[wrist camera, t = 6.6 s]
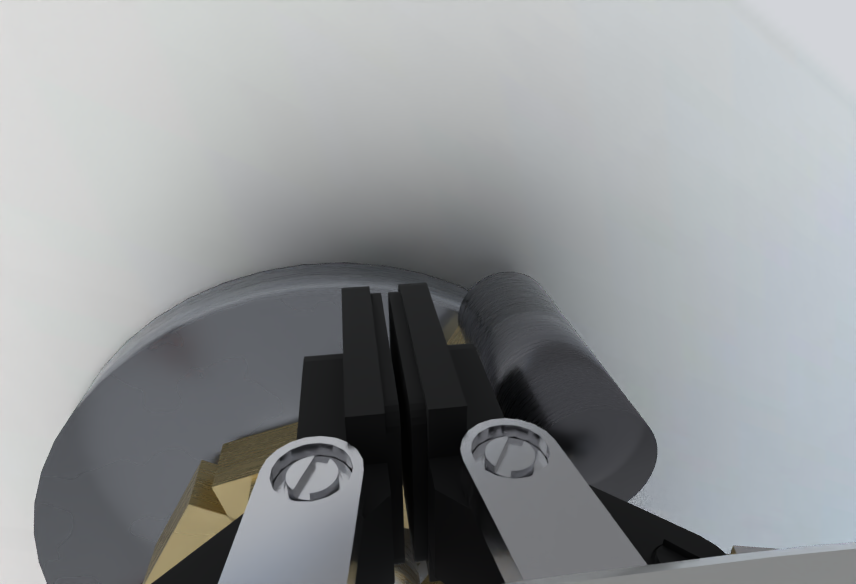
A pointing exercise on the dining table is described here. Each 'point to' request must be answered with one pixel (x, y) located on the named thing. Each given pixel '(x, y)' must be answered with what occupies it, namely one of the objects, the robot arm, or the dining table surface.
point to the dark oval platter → (194, 410)
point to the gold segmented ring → (515, 392)
